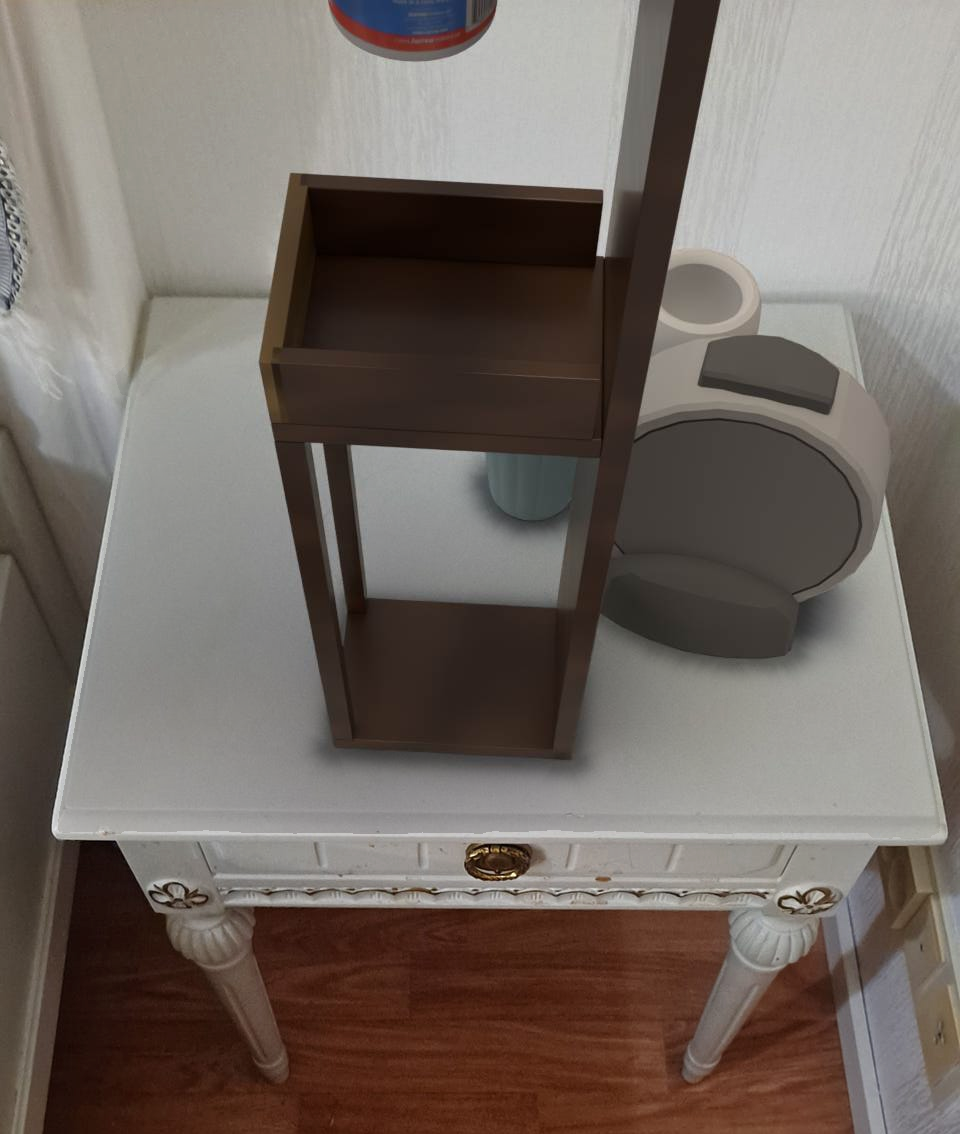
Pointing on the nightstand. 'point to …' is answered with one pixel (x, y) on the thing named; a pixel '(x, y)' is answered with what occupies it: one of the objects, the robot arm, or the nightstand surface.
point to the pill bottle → (413, 26)
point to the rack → (476, 399)
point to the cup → (530, 483)
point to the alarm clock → (744, 494)
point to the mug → (706, 299)
